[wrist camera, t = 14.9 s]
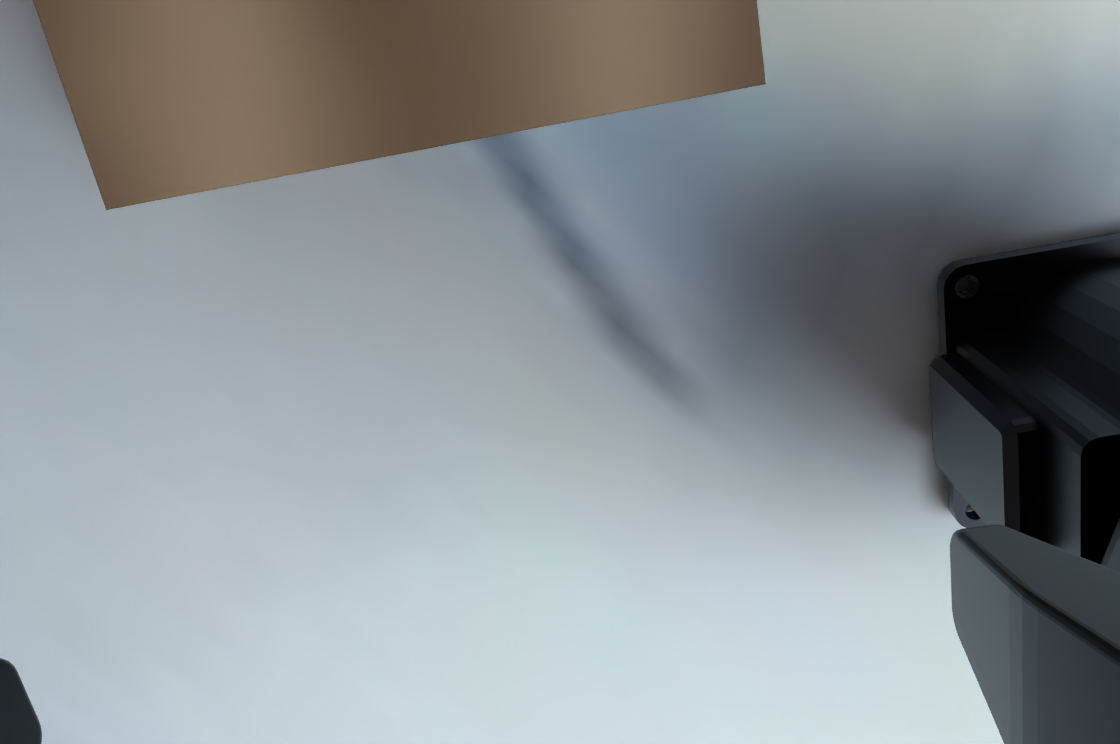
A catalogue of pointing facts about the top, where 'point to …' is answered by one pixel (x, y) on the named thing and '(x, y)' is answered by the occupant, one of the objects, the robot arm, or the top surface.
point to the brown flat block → (364, 77)
